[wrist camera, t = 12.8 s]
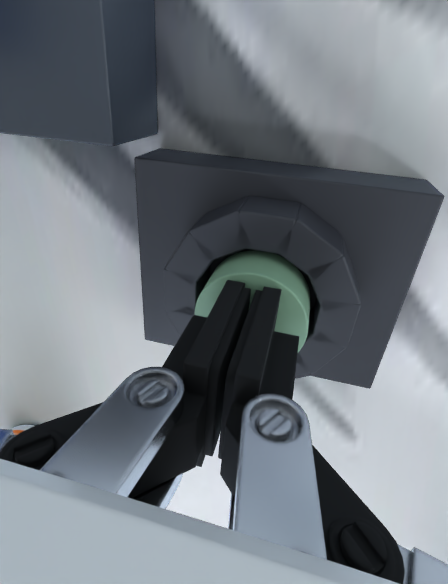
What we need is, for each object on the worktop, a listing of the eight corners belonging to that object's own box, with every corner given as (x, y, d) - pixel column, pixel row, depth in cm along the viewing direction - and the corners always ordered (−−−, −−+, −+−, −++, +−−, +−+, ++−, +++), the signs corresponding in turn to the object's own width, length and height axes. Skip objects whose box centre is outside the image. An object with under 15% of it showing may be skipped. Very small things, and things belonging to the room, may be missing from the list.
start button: (320, 259, 11) (319, 284, 10) (300, 347, 13) (296, 379, 12) (211, 241, 12) (195, 263, 11) (206, 327, 14) (192, 356, 12)
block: (427, 179, 12) (466, 213, 9) (365, 355, 16) (375, 424, 13) (158, 147, 14) (106, 167, 11) (162, 314, 18) (125, 365, 15)
